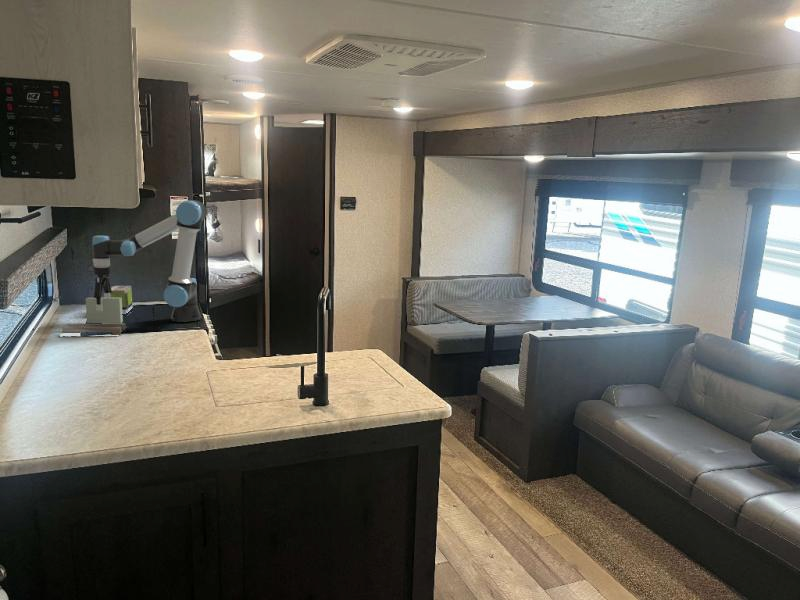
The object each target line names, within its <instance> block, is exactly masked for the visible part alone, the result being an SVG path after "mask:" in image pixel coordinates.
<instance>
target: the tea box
mask: <svg viewBox="0 0 800 600" xmlns="http://www.w3.org/2000/svg"><path fill="white" fill-rule="evenodd" d="M111 291H112V293H110V297H122V314H126V313H128V312H129V311H130V310H131V309H132V308H133V307H134V305H133V294H132V285H113V286H111ZM133 309H134V308H133Z"/></svg>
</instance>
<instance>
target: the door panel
mask: <svg viewBox="0 0 800 600" xmlns="http://www.w3.org/2000/svg"><path fill="white" fill-rule="evenodd" d="M101 298H102V309H103V311H96V298H94V296H93V297H86V298H85V308H86V309H85V312H86V313H85V314H86V315H85V316H86V324H87V323H90V322H91V323H122V322H123V323H124V319H123V318H124V316H123V315H122V297H104V296H101Z"/></svg>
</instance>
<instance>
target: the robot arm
mask: <svg viewBox="0 0 800 600" xmlns="http://www.w3.org/2000/svg"><path fill="white" fill-rule="evenodd" d="M207 214H208V210H207V207H206V205H205V204H204V203H203V202H201V201H200V200H194V199H192V200H189V199H188V200H184V201H182V202H181V203H179V204H178V206H177V207H176V209H175V213H174V214H173V215H171V216H169V217H167V218H165V219H164V220H162V221H159V222H158V223H155V224H154V225H152V226H150V227H148V228H146V229H144V230H142V231H140V232H138V233H137V234H135V235H133V236H130V237H128V238H126V239H122V240H113V239H110V236H108V235H94V236H93V237H92V245H91V246H92V258H93V259H92V261H91V262H93V275H95V276H97V277H95V282H94V283H95V285H94V293H93V294H94V295H93V297H94V298H96V311H103V309H102V298H101V297H110V293H112V291H111V287H112V286H111V282H110V274H111V267H110V266H111V256H119V257H120V256H121V257H122V256H123V257H130V256H131V257H132V256H134V255H135V253H137V252H138V251H139V250H141V249H143V248H145V247H147V246H149V245H151V244H153V243H155V242H156V241H159V240H161V239H162V238H165V237H166V236H169V235H171V234H172V233H174V232H176V231H178V233H177V239H176V248H175V254H174V259H173V266H172V267H173V268H172V274H171V276H169V277H168V279H167V283H166V287H165V289H164V291H163V299H164V301H165V303H166V304H168V305H169V306H170V307H173V310H172V313H171V316H170V319H172V320H175V321H196V320H199V319H200V318H201V319H202V316H201V315H202V314H201V312H200V310H199V307H198V283H197V278H195V277H194V278H193V277H191V271H192V266H193V260H194V259H193V258H194V253H195V247H196V239H197V235H198V234H197V233H198V232H200V231H201V228H202V223H203V221H204V220H205V219H206V217H207ZM103 291H104V293H103ZM102 295H103V296H102Z"/></svg>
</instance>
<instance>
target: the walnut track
mask: <svg viewBox="0 0 800 600" xmlns="http://www.w3.org/2000/svg"><path fill="white" fill-rule="evenodd" d="M126 326H127V325H126V323H125V322H123V323H102V324H87V323H68V324H67V326H62V327H61V333H80V332H112V333H113V334H111V335H119V334H120V333H121V332H122V331H123V330H124V329H125V328H127V327H126ZM121 329H123V330H121Z"/></svg>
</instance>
